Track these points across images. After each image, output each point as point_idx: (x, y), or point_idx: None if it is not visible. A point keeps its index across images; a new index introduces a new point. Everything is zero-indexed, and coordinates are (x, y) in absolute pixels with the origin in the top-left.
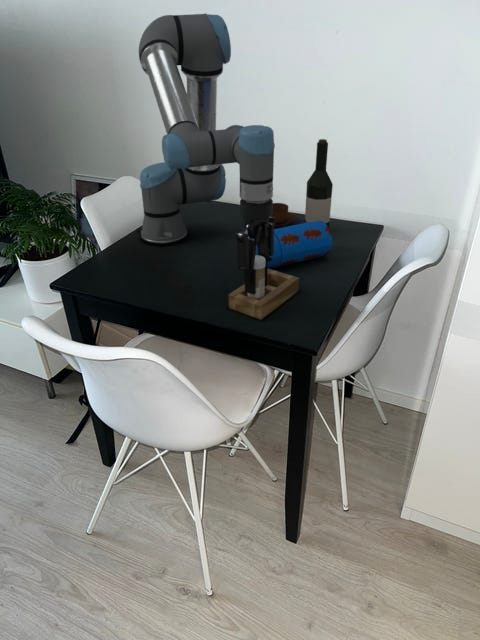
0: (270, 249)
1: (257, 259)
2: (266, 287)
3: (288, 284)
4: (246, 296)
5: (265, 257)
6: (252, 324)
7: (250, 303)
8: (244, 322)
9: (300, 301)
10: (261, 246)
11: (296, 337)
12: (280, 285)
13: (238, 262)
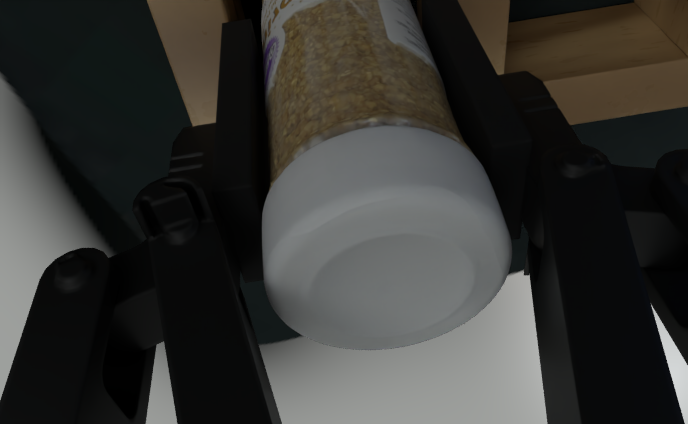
0: (664, 321)
1: (382, 306)
2: None
3: (592, 113)
4: (223, 22)
5: (533, 267)
6: (141, 111)
7: (185, 102)
8: (110, 65)
9: None
10: (559, 396)
11: (244, 290)
12: (550, 86)
13: (19, 363)
